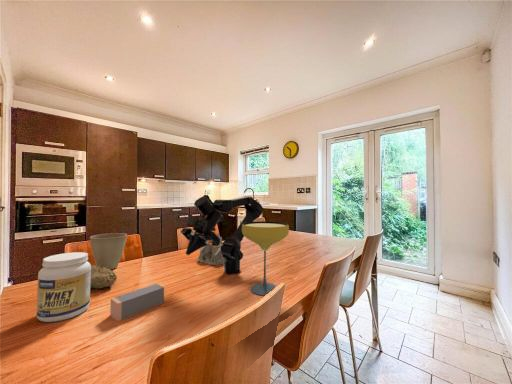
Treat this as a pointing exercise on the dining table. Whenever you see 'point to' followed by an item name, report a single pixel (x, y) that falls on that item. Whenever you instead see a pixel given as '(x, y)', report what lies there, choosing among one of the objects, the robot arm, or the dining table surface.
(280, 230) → the cocktail glass
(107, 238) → the plant pot
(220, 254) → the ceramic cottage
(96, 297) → the dining table surface
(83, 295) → the supplement tub
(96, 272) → the brown rock
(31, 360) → the dining table surface
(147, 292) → the charcoal block
